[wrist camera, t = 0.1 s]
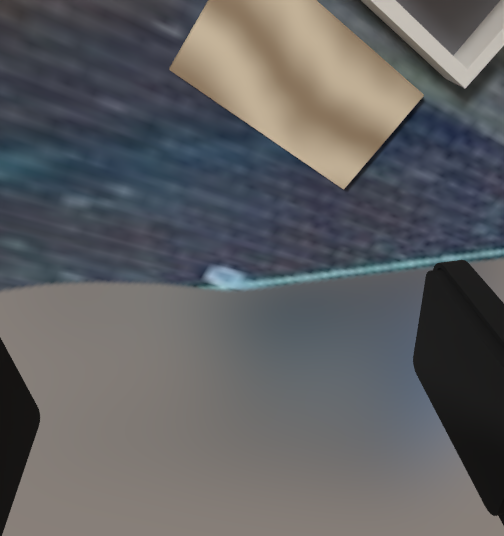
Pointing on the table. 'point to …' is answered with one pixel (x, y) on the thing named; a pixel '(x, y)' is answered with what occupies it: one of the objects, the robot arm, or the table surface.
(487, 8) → the case
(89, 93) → the table surface
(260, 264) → the table surface
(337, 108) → the oak board
